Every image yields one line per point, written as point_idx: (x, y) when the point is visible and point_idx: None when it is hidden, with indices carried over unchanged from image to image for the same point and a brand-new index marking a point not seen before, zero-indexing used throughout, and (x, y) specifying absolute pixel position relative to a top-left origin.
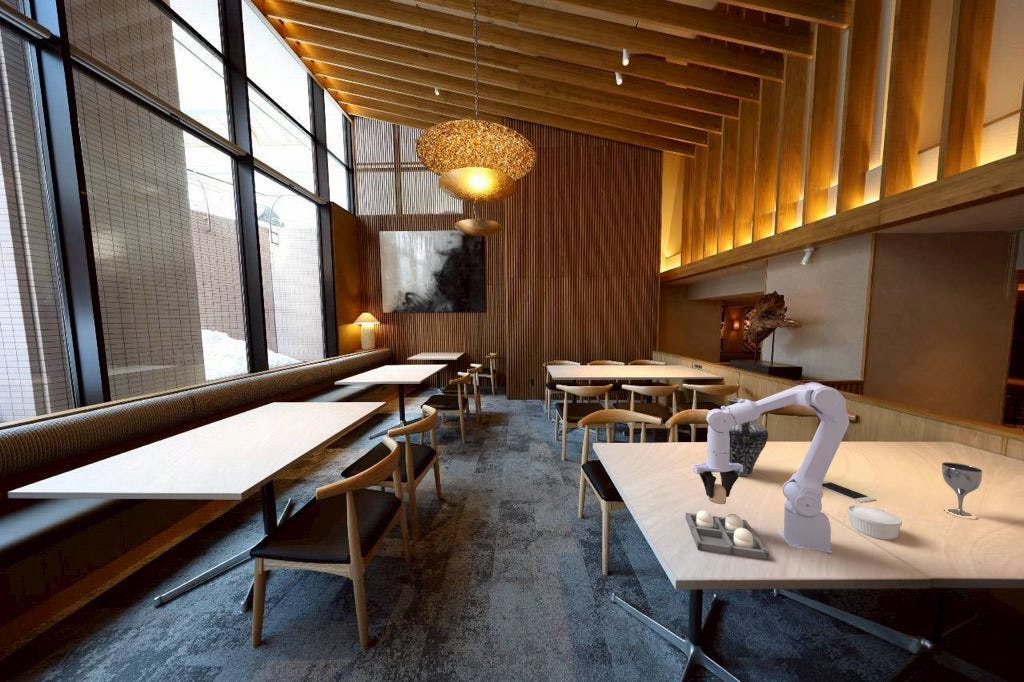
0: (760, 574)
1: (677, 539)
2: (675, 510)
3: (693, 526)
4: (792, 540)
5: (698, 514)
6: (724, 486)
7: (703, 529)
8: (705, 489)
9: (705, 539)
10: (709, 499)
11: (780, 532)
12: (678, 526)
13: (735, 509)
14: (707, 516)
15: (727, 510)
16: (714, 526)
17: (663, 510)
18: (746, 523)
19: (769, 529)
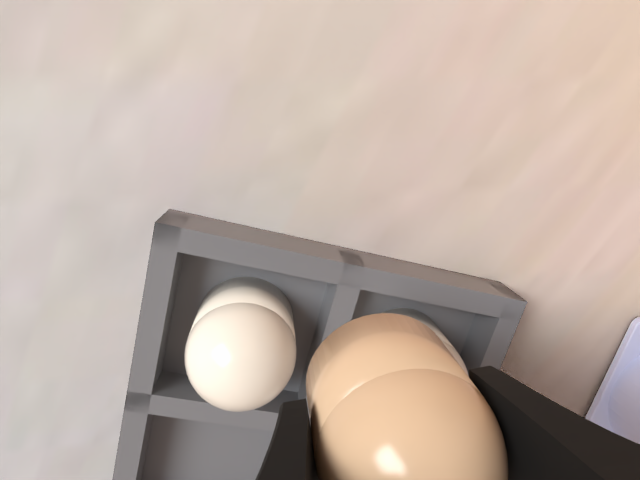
0: None
1: (43, 414)
2: (141, 57)
3: (141, 397)
4: (621, 430)
5: (189, 371)
6: (531, 469)
7: (195, 418)
8: (271, 444)
9: (195, 429)
10: (307, 379)
11: (638, 337)
12: (92, 284)
13: (606, 43)
14: (239, 410)
15: (541, 59)
16: (316, 300)
17: (37, 56)
18: (501, 340)
19: (616, 287)
